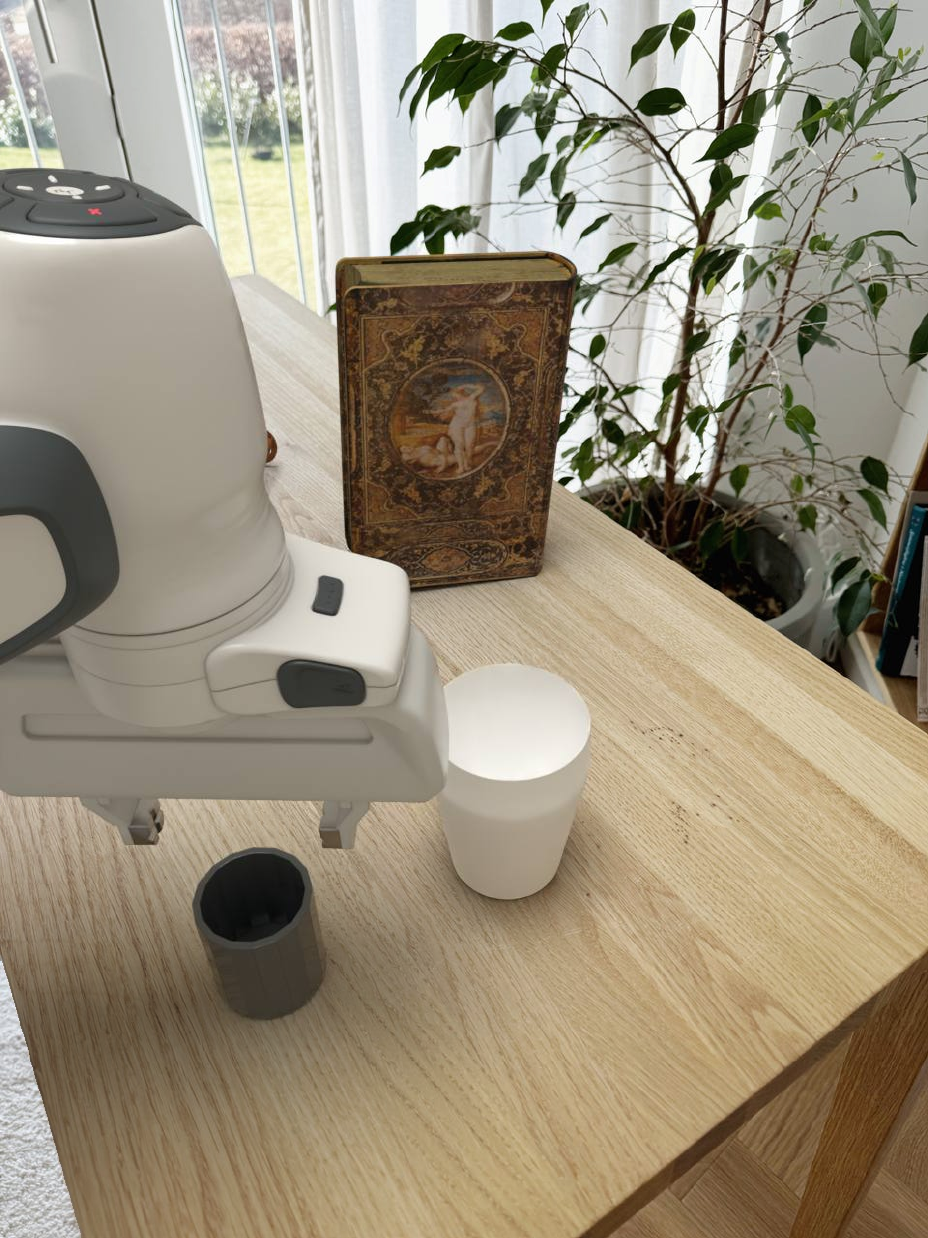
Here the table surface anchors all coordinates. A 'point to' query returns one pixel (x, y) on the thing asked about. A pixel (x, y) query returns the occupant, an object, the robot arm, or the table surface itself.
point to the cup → (512, 776)
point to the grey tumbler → (261, 932)
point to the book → (451, 408)
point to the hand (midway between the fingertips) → (243, 836)
